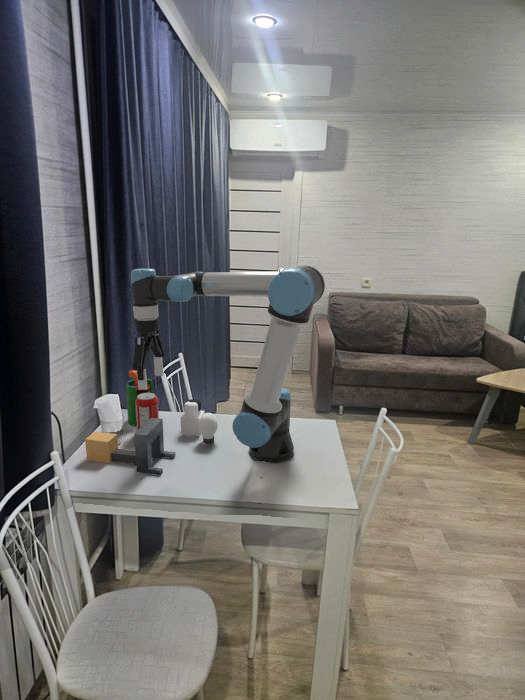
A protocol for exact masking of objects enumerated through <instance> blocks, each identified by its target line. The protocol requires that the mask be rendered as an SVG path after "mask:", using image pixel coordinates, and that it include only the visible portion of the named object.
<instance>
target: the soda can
mask: <svg viewBox="0 0 525 700" xmlns="http://www.w3.org/2000/svg"><path fill="white" fill-rule="evenodd" d="M135 405H136V422H137V426H136V432H137V431H138V430H139V429H140V428H141V427H142V426H143V425H144V424H145V423H146V422H147V421H148V420H149V419H150V418H158V419H160V418H159V412H160V411H159V398H158V397H157V395H156V394H155V393H142V394H139V395H138V396H137V399H136V401H135Z"/></svg>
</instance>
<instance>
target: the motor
mask: <svg viewBox="0 0 525 700" xmlns="http://www.w3.org/2000/svg"><path fill="white" fill-rule="evenodd" d="M128 378H133V379H131V380H128V381H126V383H125V386H126V387H125V388H126V390H125V391H126V405H127V406H126V408H127V409H126V411H127V424H129V425H130V426H131V427H137V422H136V405H135V401H136V399H137V396H138V395H139V394H142V393H153V389H154V388H153V380H152V379H149V378H147V390H143V389H138V379H137V370H133V369H132V370H129V371H128Z"/></svg>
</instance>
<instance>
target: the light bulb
mask: <svg viewBox="0 0 525 700" xmlns="http://www.w3.org/2000/svg"><path fill="white" fill-rule="evenodd" d="M218 425H219V423H218V419H217V417H216V416H215V414H213V413H211V412H205V414H203V415H202V416H201V417H200V419H199V422H198V427H199V431H200V433H201V435H202V443H203V444H204V445H213V444H214V443H215V434H216V432H217V430H218Z"/></svg>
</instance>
